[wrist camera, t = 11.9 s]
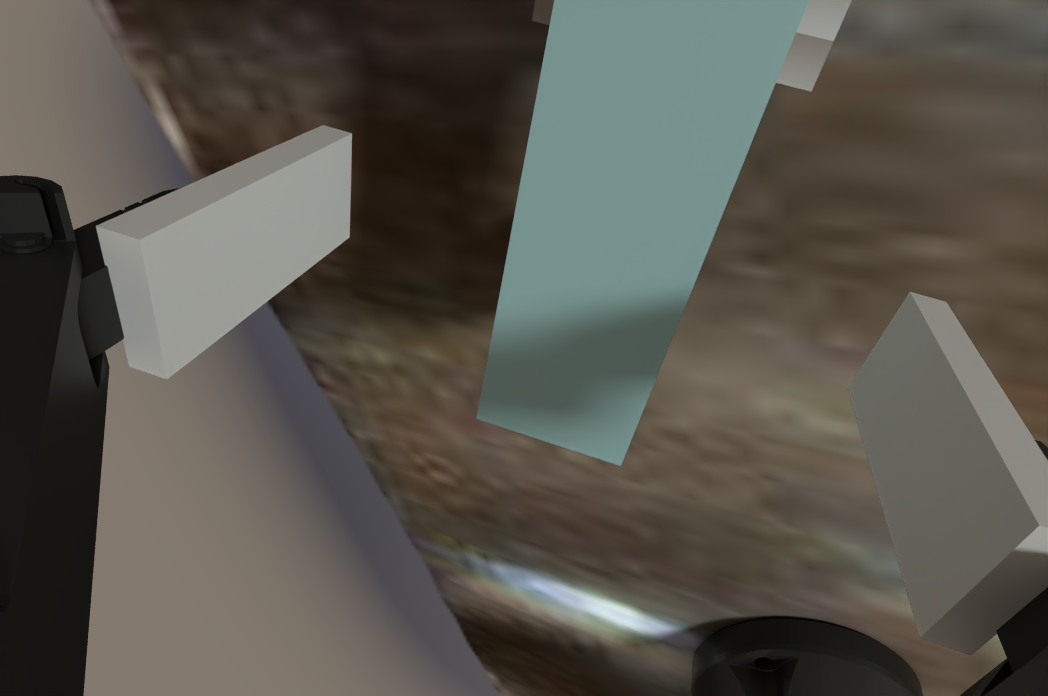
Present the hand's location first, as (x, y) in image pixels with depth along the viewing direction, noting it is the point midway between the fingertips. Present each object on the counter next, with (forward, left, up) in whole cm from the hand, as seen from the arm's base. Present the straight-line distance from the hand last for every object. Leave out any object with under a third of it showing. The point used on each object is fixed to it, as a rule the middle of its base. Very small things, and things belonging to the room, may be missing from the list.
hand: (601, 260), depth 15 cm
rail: (0, 0, -15) cm, 15 cm away
